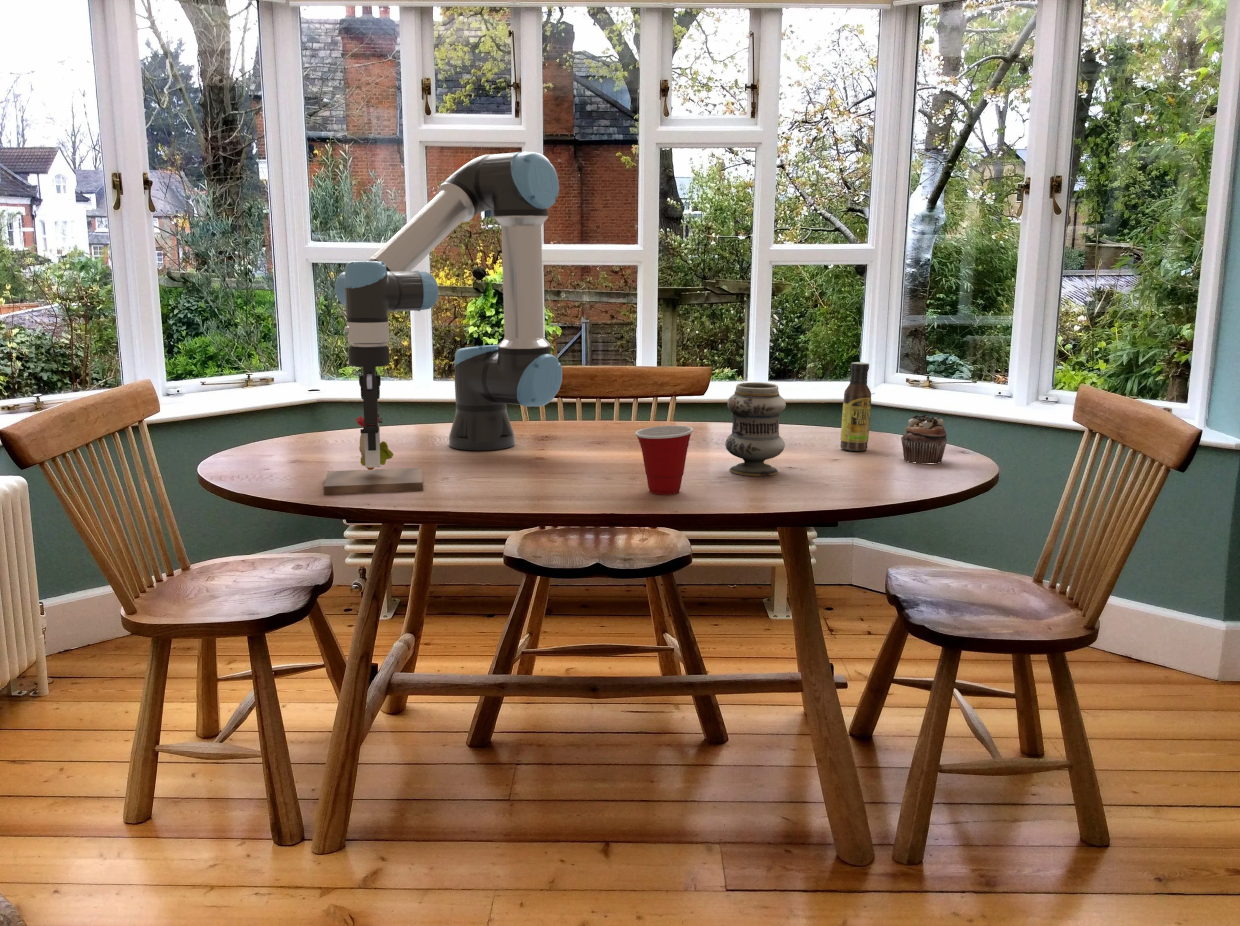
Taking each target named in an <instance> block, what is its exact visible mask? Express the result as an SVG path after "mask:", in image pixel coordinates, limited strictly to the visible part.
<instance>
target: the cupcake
mask: <svg viewBox="0 0 1240 926" xmlns="http://www.w3.org/2000/svg"><path fill="white" fill-rule="evenodd" d="M907 423H908V425H907V426H906V427H905V432H904V434H903V435H902V437H901V438H900V440H901V445H902V453H903V461H904V460H906V461H905V462H907V461H909V462H908V463H911V462H916V463H915V464H917V463H937V464H939V463H938V462H941V463H942V461H943V458H944V453H945V449H946V447H947V444H948V443H947V442H948V440H947V439H948V438H947V436H948V435H947V432H946V429H945V426H944V423H945V421H944V419H942V418H940V417H939V416H938V417H937V416H936V417H934V416H932V417H930V415H928V414H923V415H921V416H919V415H914V416H911V418H910V419H909V420H908V421H907Z"/></svg>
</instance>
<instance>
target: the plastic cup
mask: <svg viewBox="0 0 1240 926" xmlns="http://www.w3.org/2000/svg"><path fill="white" fill-rule="evenodd" d="M692 433H693V427H691V426H686V425H658V426H650V427H646V428H645V427H644V428H642V429H639V430H636V431H635V433H634V435H635V436H636V437H637V439H638V442H639V444H640V448H641V453H642V459H643V465H644V469H645V470H644V471H645V475H646V480H647V481H646V483H647V487H648V491H649V493H650V494H655V495H663V496H664V495H665V496H668V495H675V494H678V493H680V489H681V487H682V481H683V475H684V472H685V466H686V460H687V454H688V450H689V449H688V448H689V445H690V444H689V443H690V439H691V436H692Z"/></svg>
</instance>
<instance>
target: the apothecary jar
mask: <svg viewBox="0 0 1240 926" xmlns="http://www.w3.org/2000/svg"><path fill="white" fill-rule="evenodd" d="M726 403H727V409H728V410H729V411H730V412H732V426H731V427H732V429H731V434H729V436H727V438H726V440H725V443H724V444H725V445H724V446H725V449H726V450H727V451H728V453H729V454H730V455H732V456H734V457H736V458H739V459H742V460H743V461H744V462H739V463H738V464H736V465H733V466H731V467H730V468H729V472H730V473H732V474H735V475H740V476H745V477H765V476H769V477H771V476H775V475H777V474H778V473H779V471H778V469H777V468H776V467H773V466H772V465H770V464H768V463H765V461H767V460H770V459H774V458H776V457H778V456H779V455H781V454H782V453H783V452H784V450H785V446H786V445H785V443H786V442H785V441H784V439H783V437H781V436H780V414H781V413H782V412H784V411H785V409H786V405H787V404H786V403H787V402H786V401H785V399H784V397H782V396H781V395H780V392H779V385H778V384H775V383H769V382H762V381H761V382H760V381H759V382H752V381H751V382H741V383H737V384H736V385H735V390H734V393H733V394H732V395H731V396H729V398H728V399H727V402H726Z"/></svg>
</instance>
